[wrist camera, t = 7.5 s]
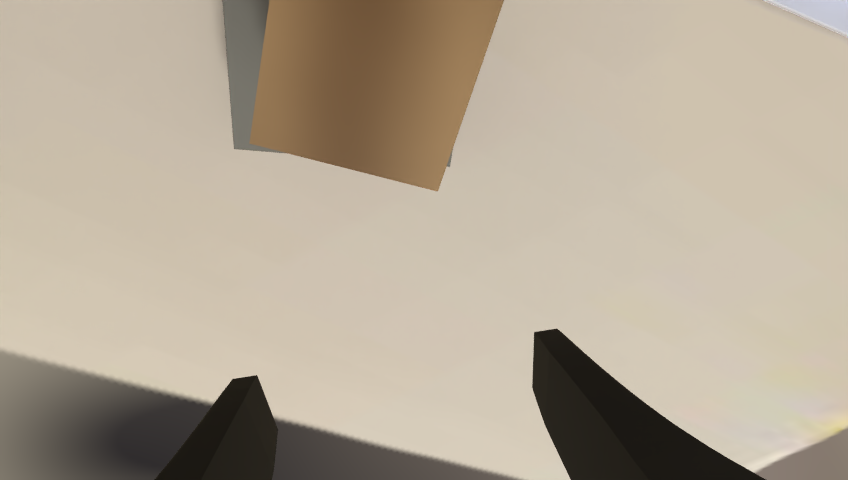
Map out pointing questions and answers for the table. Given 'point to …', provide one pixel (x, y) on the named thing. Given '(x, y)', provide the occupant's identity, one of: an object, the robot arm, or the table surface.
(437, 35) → the walnut cube
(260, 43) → the slate slab
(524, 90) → the table surface
